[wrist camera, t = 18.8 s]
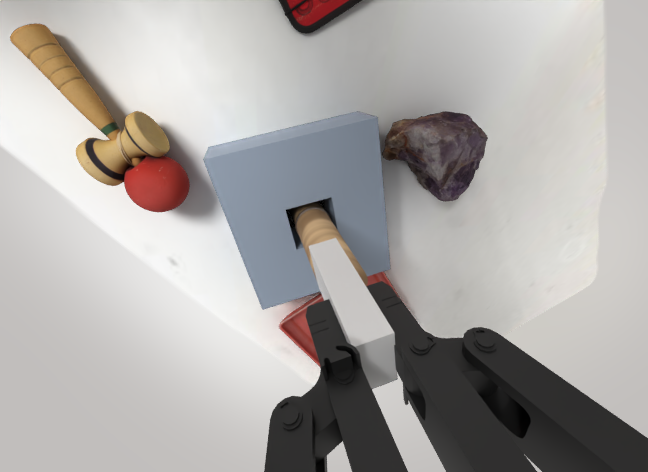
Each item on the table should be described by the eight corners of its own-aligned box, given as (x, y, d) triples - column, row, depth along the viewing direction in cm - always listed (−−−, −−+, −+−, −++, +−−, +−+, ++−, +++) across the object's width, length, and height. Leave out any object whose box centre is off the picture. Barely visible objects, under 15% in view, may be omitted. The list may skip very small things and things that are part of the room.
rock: (409, 192, 44) (462, 142, 42) (446, 221, 38) (511, 164, 36) (367, 139, 37) (429, 76, 35) (404, 165, 31) (483, 89, 29)
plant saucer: (369, 249, 46) (377, 260, 44) (408, 314, 56) (417, 327, 53) (274, 311, 47) (276, 326, 44) (328, 364, 57) (333, 379, 54)
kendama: (9, 69, 28) (151, 222, 35) (-45, 46, 22) (138, 235, 29) (85, 28, 29) (207, 184, 36) (52, -4, 23) (205, 190, 30)
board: (208, 147, 33) (203, 159, 28) (357, 111, 36) (377, 117, 31) (259, 282, 43) (262, 309, 38) (373, 247, 46) (390, 269, 41)
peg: (284, 195, 38) (315, 273, 23) (315, 186, 39) (366, 258, 23) (292, 223, 40) (325, 312, 25) (321, 214, 41) (371, 297, 26)
